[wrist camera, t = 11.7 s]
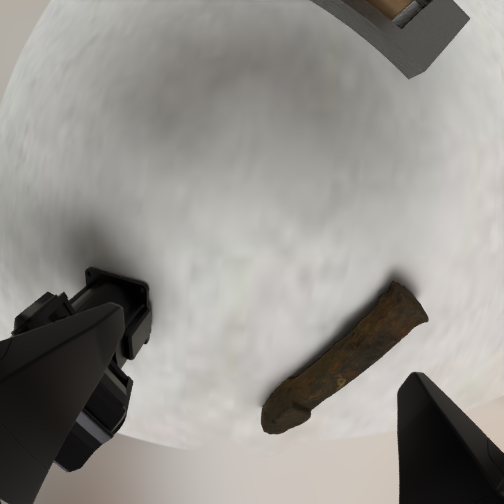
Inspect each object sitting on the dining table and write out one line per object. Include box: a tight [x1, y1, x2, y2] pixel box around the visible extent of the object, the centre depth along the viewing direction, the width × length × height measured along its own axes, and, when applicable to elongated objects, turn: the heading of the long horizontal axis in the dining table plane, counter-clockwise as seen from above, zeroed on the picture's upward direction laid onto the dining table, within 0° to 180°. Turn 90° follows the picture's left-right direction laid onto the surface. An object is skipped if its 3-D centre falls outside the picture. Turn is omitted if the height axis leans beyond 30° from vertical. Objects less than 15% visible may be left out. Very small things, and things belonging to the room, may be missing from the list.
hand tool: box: [261, 281, 429, 434], centre depth 21 cm, size 19×4×5 cm, turn 141°
